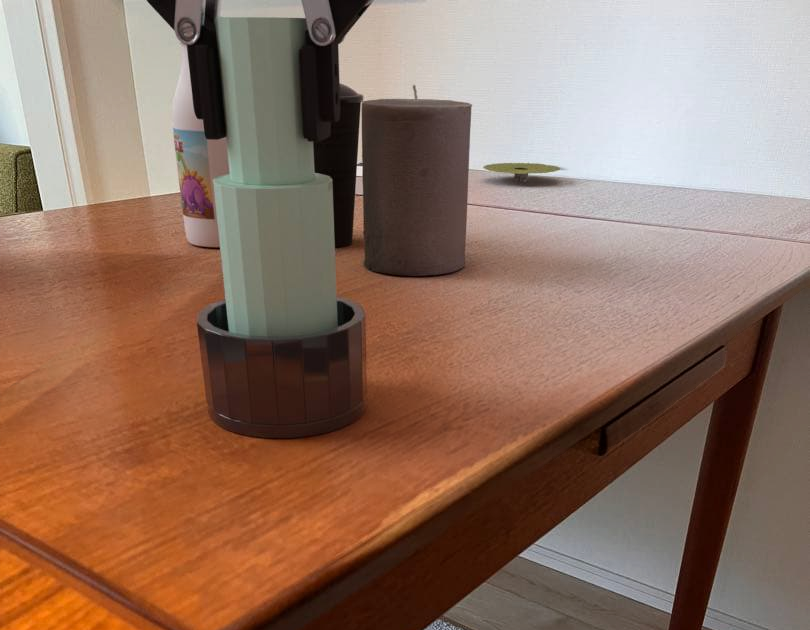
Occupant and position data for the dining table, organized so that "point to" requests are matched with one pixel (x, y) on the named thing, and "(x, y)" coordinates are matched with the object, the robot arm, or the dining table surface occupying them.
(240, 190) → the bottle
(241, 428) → the holder
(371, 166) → the pillar candle
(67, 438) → the dining table surface
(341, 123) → the drinking cup
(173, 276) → the dining table surface
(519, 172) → the green disc on stem
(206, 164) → the milk bottle
